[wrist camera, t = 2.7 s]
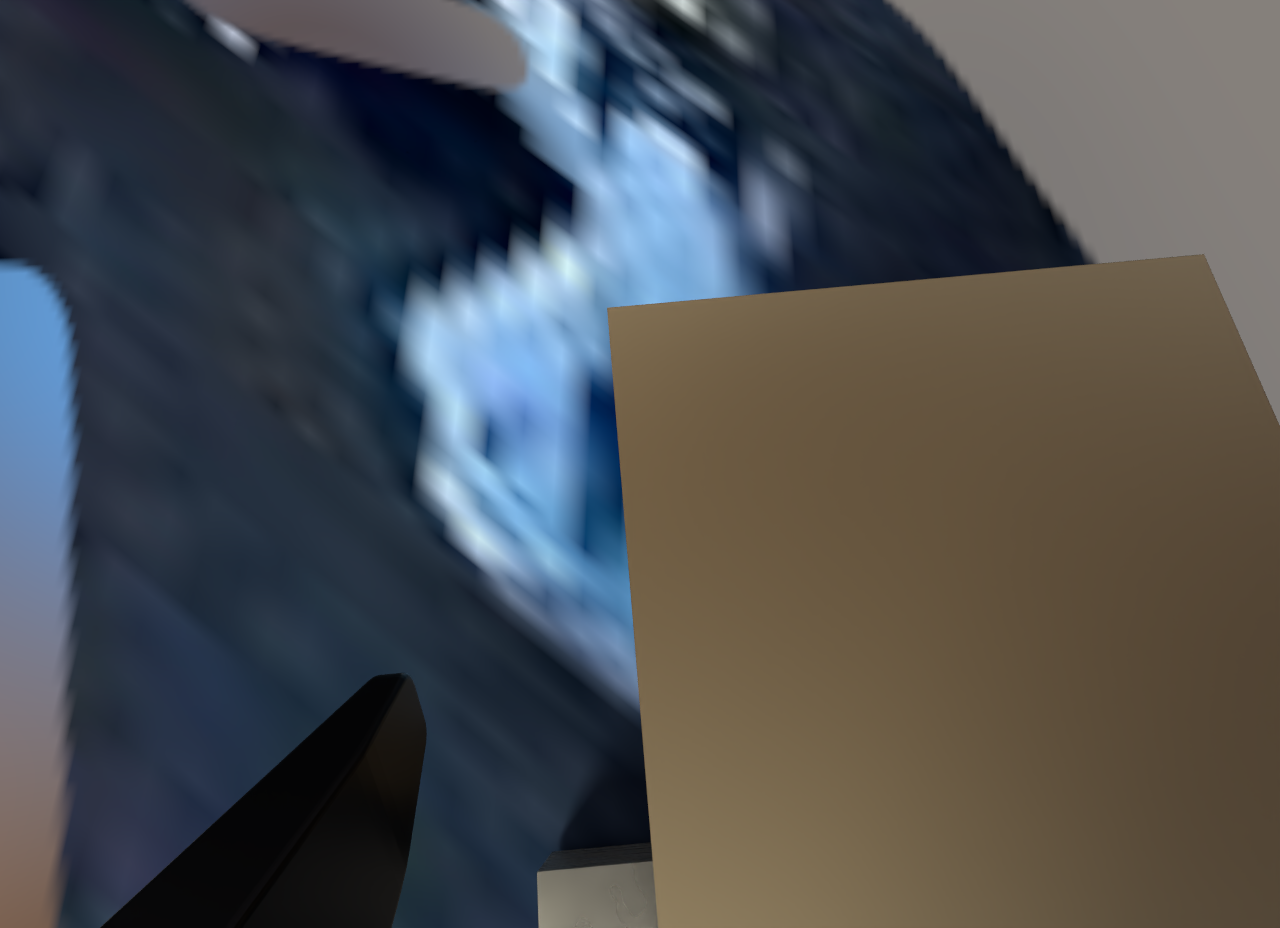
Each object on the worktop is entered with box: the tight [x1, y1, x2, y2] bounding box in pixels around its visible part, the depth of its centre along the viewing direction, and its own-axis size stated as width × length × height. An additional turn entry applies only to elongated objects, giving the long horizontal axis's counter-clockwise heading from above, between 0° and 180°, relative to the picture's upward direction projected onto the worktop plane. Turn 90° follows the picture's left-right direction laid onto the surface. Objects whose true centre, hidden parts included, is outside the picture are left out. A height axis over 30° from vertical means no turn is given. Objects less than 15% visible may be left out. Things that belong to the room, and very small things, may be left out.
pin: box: [607, 254, 1280, 928], centre depth 10 cm, size 3×3×14 cm
